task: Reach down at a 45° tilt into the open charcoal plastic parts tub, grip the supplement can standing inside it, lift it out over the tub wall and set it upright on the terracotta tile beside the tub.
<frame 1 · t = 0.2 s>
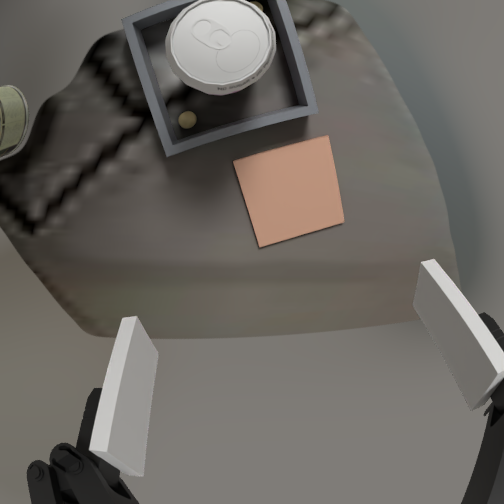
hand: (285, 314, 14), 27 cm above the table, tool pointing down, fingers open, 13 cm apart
terracotta tile: (292, 191, 39), on the table
supplement can: (219, 62, 31), resting in parts tub
coffee can: (4, 120, 29), on the table
parts tub: (219, 62, 31), on the table
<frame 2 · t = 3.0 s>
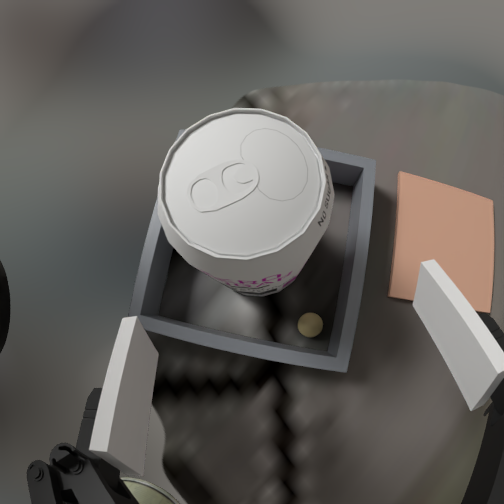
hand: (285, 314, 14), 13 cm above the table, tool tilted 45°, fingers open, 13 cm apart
terracotta tile: (447, 244, 26), on the table
supplement can: (258, 249, 27), resting in parts tub
parts tub: (258, 249, 27), on the table
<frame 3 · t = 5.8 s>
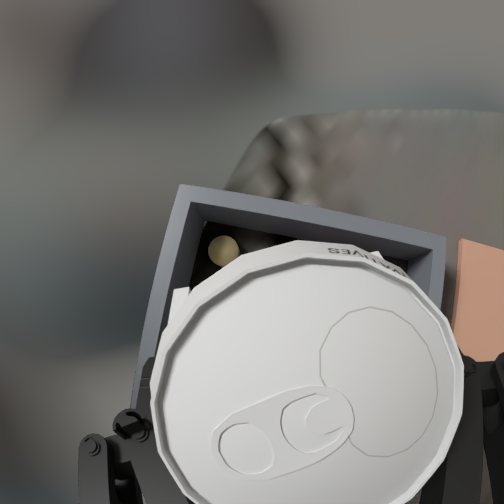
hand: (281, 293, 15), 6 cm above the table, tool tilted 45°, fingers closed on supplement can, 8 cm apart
terracotta tile: (503, 324, 19), on the table
supplement can: (287, 348, 20), resting in parts tub, touching gripper
parts tub: (288, 348, 20), on the table
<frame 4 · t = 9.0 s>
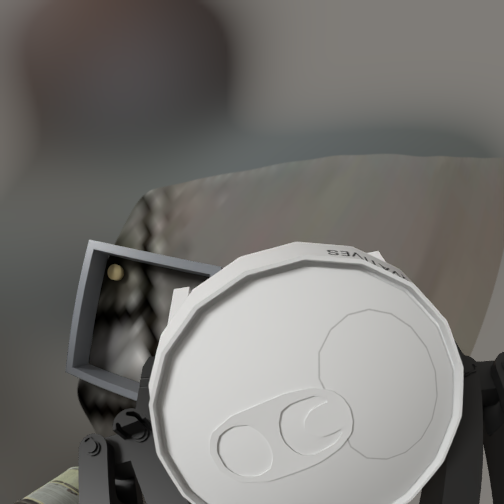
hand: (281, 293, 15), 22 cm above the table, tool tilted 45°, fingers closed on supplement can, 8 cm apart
supplement can: (287, 348, 20), point 15 cm above the table, touching gripper
coffee can: (91, 492, 32), on the table
parts tub: (146, 325, 36), on the table
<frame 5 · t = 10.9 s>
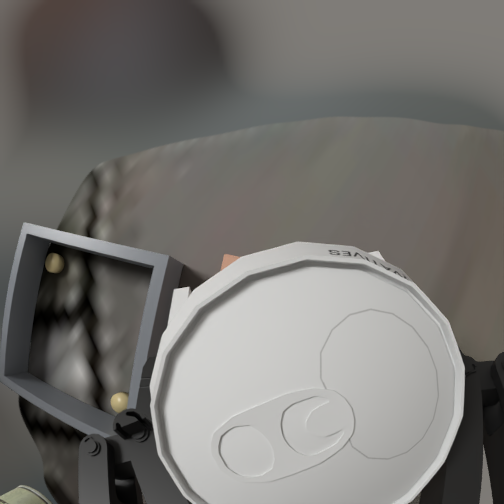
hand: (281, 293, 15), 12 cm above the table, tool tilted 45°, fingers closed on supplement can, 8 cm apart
supplement can: (287, 348, 20), point 5 cm above the table, touching gripper
parts tub: (85, 330, 27), on the table
when the fingers open (8 cm above the table, at t = 12.5 s): supplement can drops 1 cm, resting on terracotta tile.
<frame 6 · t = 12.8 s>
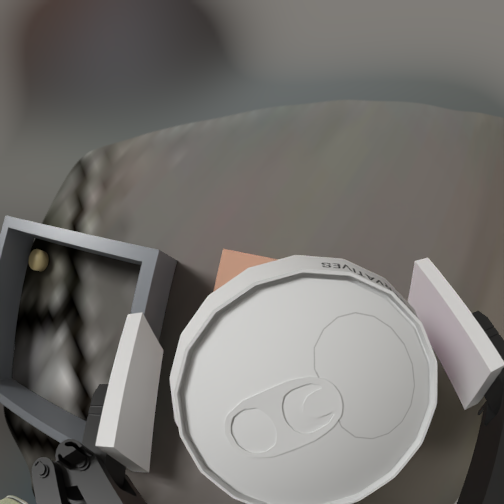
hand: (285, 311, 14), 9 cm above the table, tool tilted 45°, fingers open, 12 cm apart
terracotta tile: (286, 345, 22), on the table
supplement can: (287, 346, 22), resting on terracotta tile
parts tub: (70, 334, 23), on the table
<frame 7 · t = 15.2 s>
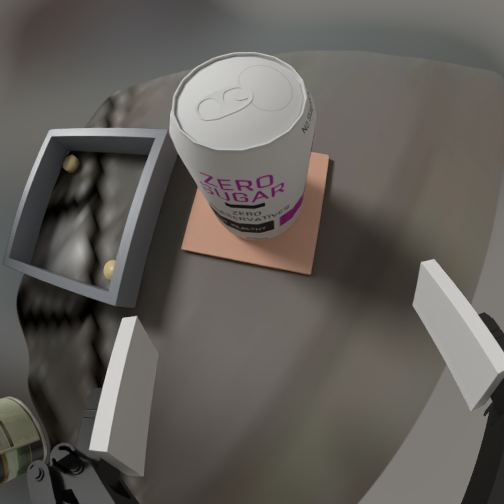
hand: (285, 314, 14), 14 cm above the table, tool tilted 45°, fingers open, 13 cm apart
terracotta tile: (258, 201, 30), on the table
supplement can: (258, 200, 29), resting on terracotta tile
coffee can: (21, 432, 27), on the table
parts tub: (90, 212, 31), on the table
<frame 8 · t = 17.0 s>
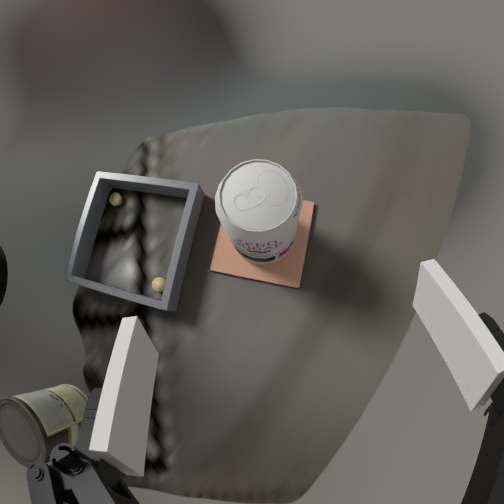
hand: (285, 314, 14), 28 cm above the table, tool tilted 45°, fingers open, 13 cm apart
terracotta tile: (263, 236, 43), on the table
supplement can: (263, 236, 42), resting on terracotta tile
coffee can: (73, 412, 40), on the table
parts tub: (137, 240, 44), on the table
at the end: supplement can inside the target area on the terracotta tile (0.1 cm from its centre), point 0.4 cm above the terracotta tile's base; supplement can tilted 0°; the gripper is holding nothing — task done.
